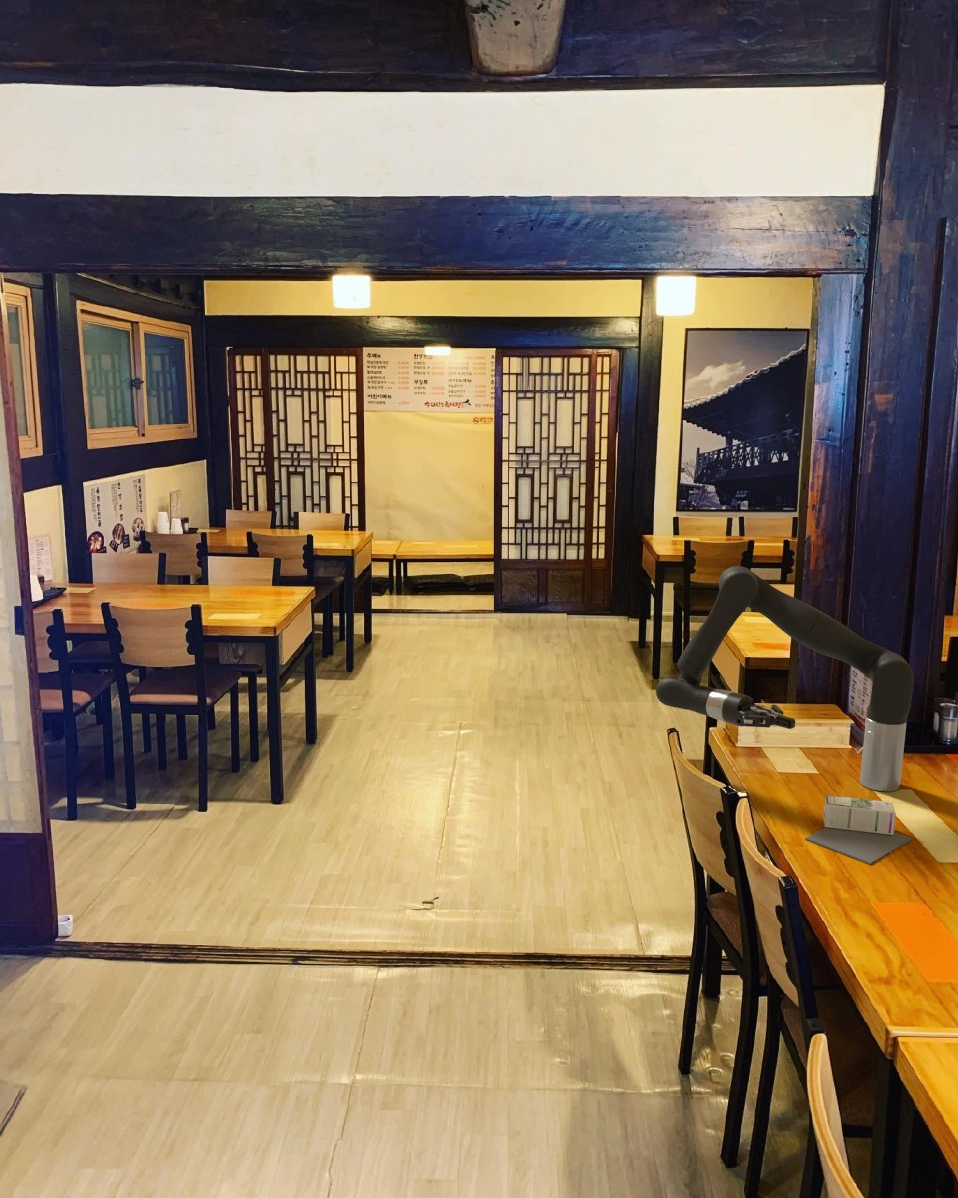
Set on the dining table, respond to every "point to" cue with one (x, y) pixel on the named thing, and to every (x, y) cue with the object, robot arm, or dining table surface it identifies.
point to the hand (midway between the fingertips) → (793, 724)
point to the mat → (858, 843)
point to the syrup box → (859, 815)
